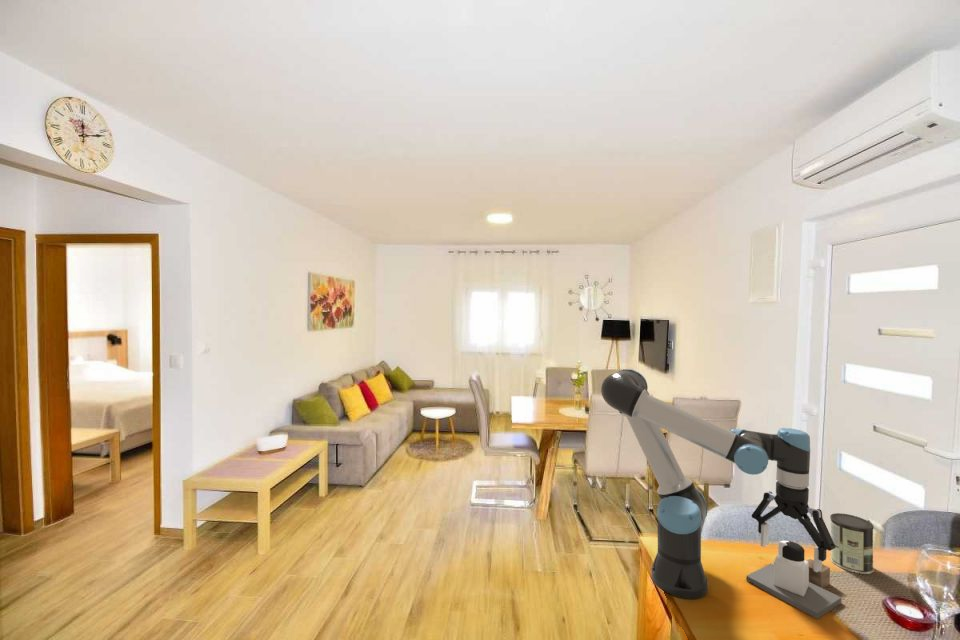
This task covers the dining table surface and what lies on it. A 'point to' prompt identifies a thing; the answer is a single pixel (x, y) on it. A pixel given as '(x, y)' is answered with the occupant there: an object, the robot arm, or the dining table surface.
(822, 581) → the walnut block
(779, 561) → the medicine bottle
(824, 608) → the charcoal serving board
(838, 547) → the coffee can
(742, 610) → the dining table surface
